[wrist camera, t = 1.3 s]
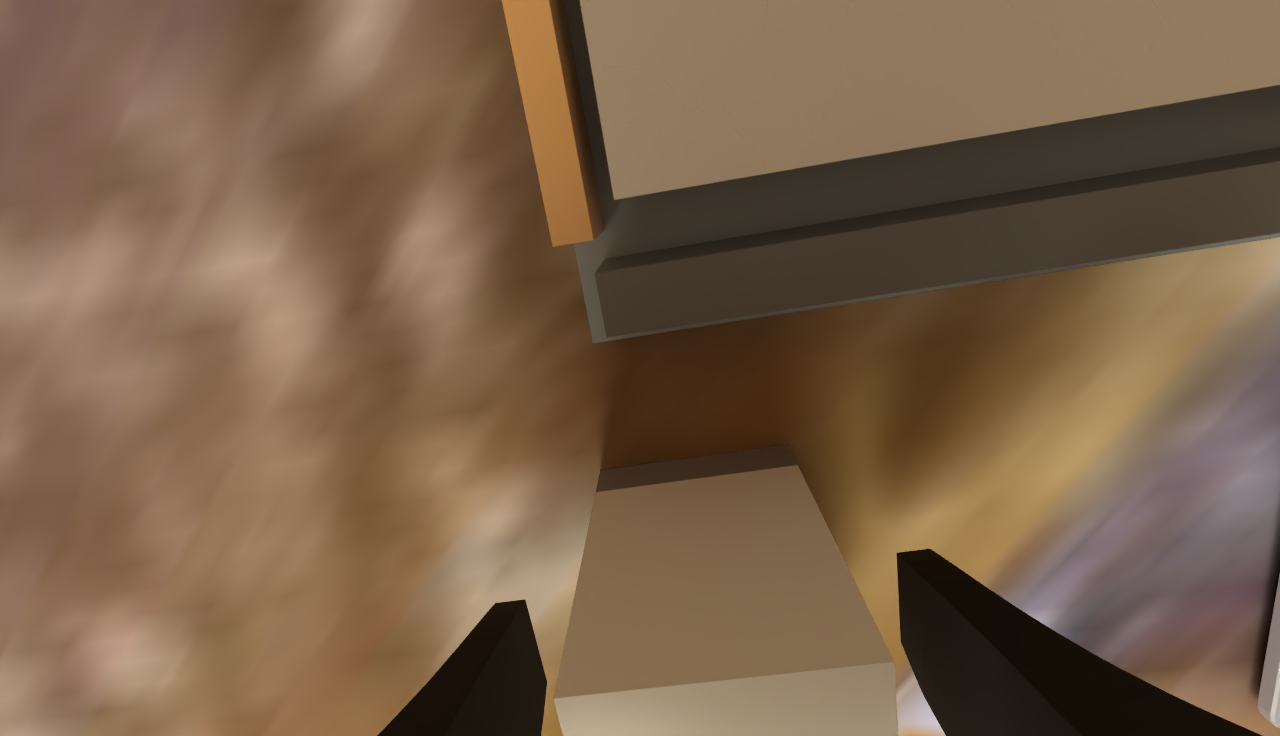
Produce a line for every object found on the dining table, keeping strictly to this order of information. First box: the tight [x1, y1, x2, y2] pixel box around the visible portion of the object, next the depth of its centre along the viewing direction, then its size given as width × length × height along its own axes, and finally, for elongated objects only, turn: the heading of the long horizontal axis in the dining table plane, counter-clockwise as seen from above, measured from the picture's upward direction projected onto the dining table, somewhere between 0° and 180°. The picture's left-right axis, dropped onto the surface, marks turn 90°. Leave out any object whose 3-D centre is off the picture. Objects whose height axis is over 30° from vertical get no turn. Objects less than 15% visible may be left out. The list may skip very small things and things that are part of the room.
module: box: [554, 444, 898, 736], centre depth 11 cm, size 4×5×6 cm
